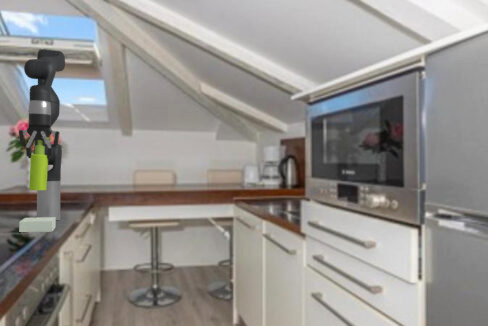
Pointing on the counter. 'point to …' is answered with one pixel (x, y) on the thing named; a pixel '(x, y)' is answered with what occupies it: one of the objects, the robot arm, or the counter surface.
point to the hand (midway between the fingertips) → (39, 158)
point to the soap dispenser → (38, 168)
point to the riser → (37, 224)
